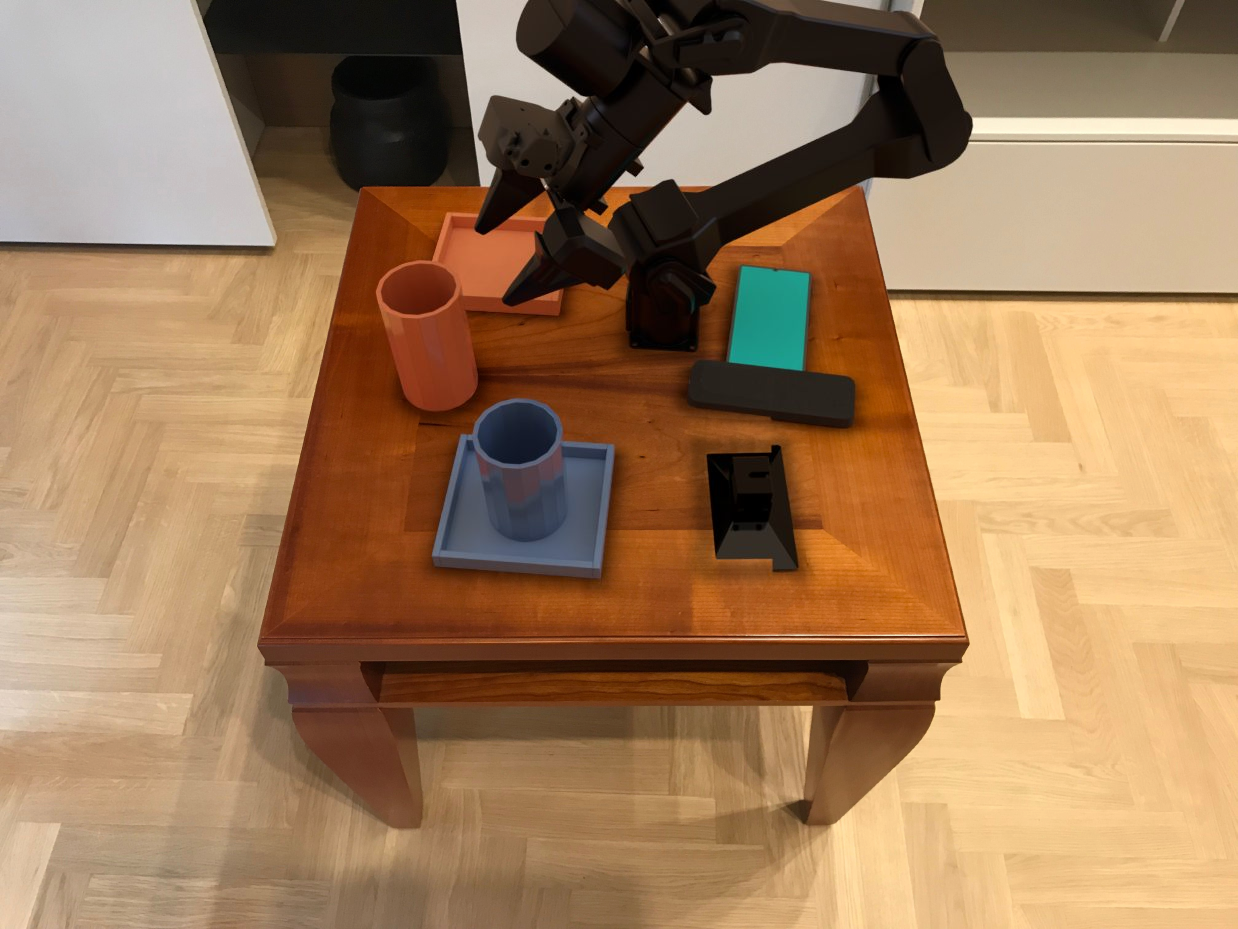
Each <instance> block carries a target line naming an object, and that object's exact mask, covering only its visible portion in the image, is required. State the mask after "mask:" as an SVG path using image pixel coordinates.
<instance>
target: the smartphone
mask: <svg viewBox="0 0 1238 929" xmlns="http://www.w3.org/2000/svg"><path fill="white" fill-rule="evenodd" d="M812 280H813V274H812V272H810V271H806V270H797V269H789V268H780V267H769V266H762V265H761V266H760V265H753V264H739V266H738V271H737V278H736V285H735V292H734V293H735V294H734V301H733V308H732V315H731V323H730V330H729V337H728V345H727V352H726V360H725V362H732V363H740V364H749V365H757V366H766V367H774V368H783V369H792V370H800V371H806V367H807V354H808V353H807V352H808V338H809V327H810V321H811V318H810V314H811V306H812V290H813V289H812Z"/></svg>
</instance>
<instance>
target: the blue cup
mask: <svg viewBox="0 0 1238 929" xmlns="http://www.w3.org/2000/svg"><path fill="white" fill-rule="evenodd" d="M471 435H472V440H473V444H474V449H475V454H476V459H477V464H478V468H479V473H480V478H481V483H482V488H483V493H484V497H485V502H486V507H487V511H488V515H489V519H490V521H491V523H492V525H493V527H494V528H495V529H496V530H497V531H498V532H499V533H500V534H502V535H503V536H505V537H507V538H509V539H512V540H516V541H522V542H529V541H536V540H540V539H543V538H545V537H548V536H549V535H551V534H553V533H554V532H555V531H556V530H557V529H558V528H559V527H560V526H561V525H562V524H563V522H564V520H565V519H566V516H567V513H568V501H569V499H568V487H567V475H566V463H565V451H564V441H565V439H564V428H563V426H562V423H561V420H560V417H559V415H558V414H557V413H556V412H555V411H554V410H553V409H552V408H551V407H550V406H549V405H548V404H546V403H542V402H540V401H537V400H535V399H532V398H519V397H518V398H516V397H515V398H510V399H507V400H502V401H498V402H496V403H495V404H493V405H492V406H490V407H489V408H486V409H485V410H484V411H483V412H482V413H481V414H480V416H479V417H478V418H477V420H476V421H475V422H474V426H473V430H472V434H471Z"/></svg>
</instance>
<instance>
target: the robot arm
mask: <svg viewBox="0 0 1238 929" xmlns="http://www.w3.org/2000/svg"><path fill="white" fill-rule="evenodd" d="M941 42H942V41H941V40H940V38H939V37H938V35H937V34H936V33H935V32H933V30H931V29H930V28H929V27H928V26H927V25H926V24H925V23H924V22H923V21H922V20H921V19H920V18H919V17H917V16H916V15H915V14H914V13H913V12H910V11H908V10H907V11H905V10H902V9H900V10H893V11H888V10H881V9H876V8H872V7H871V8H869V7H864V6H858V5H852V4H847V3H840V2H835V1H828V0H527V1H526V3H525V4H524V6H523V9H522V11H521V13H520V16H519V19H518V21H517V25H516V29H515V44H516V47H517V50H518V51H519V52H520V53H521V54H522V55H524V56H525V57H527V58H528V59H530V60H531V61H532V62H533V63H535V64H536V65H538V66H539V67H540V68H542V69H543V70H544V71H546V72H547V73H549V74H550V75H552V76H553V77H554V78H555V79H557V80H558V81H559V82H561V83H562V84H563V85H565V86H567V87H568V88H569V89H571V90H572V91H573V92H575V93H576V94H577V95H579V96H581V97H584V98H585V99H584V100H583V101H581V100H580V99H579V98H577V97H576V96H575V95H572V96H571V98H570V99H569V98H567V99H565V100H564V101H563V102H562V103H561V104H560V105H559V107H558V108H557V109H555V110H553V109H550V108H546V107H544V106H542V105H540V104H537V103H534V102H529V101H525V100H520V99H516V98H511V97H507V96H502V95H498V94H494V95H491V96H490V97H489V99H488V102H487V106H486V108H485V111H484V114H483V118H482V120H481V124H480V126H479V129H478V132H477V139H478V140H479V142H481V144H482V146H483V148H484V150H485V157H486V160H487V162H488V163H490V165H492V166H493V167H495V170H494V172H493V177H492V179H491V183H490V184H489V187H488V190H487V192H486V195H485V197H484V201H483V202H482V206H481V208H480V210H479V212H478V214H479V215H478V218H477V220H476V223H475V225H474V229H475V231H476V232H477V233H479V234H481V235H486V234H487V233H489V232H490V231H492V230H493V229H495V228H497V227H498V226H499V225H501V224H502V223H503V222H505V221H506V220H507V219H509V218H510V217H511V216H515V214H517V213H518V212H519V211H521V210H522V209H523V208H524V207H526V206H527V205H529V204H530V203H531V202H532V201H534V200H535V199H537V198H538V197H539V196H540V195H542V194H543V193H544V192H546V194H547V196H548V199H549V201H550V203H551V206H552V207H553V209H554V210H553V212H552V213H551V214H550V215H549V216H548V217H547V218H548V219H547V220H546V221H545V225H544V229H543V232H542V234H541V233H539V232H537V231H535V232H534V238H535V253H534V255H533V256H532V257H531V259H530V260H529V261H528V262H527V264H526V265H525V266H524V268H523V269H522V270H521V272H520V273H519V274H518V276H517V277H516V278H515V279H514V281H513V282H512V283H511V285H510V286H509V288H508V289H507V291H506V292H505V294H504V296H503V297H502V302H503V304H505V305H508V306H510V307H514V306H516V305H519V304H522V303H524V302H527V301H530V300H533V299H535V298H538V297H541V296H544V295H546V294H549V293H552V292H555V291H558V290H561V289H564V290H565V289H567V288H572V287H575V286H576V287H577V286H579V285H583V284H587V285H589V286H591V287H593V288H596V287H600V288H602V289H603V290H605V291H607V292H608V291H610V290H611V289H612V287H614V286H615V284H616V283H618V281H620V279H621V278H623V277H624V276H625V278H626V279H627V281H628V282H627V285H626V291H625V292H626V294H625V303H624V304H625V305H624V306H625V317H624V318H625V319H624V320H625V322H624V323H625V325H624V326H625V331H626V332H628V333H629V339H628V346H629V348H631V349H633V350H647V351H648V350H650V351H662V352H663V351H664V352H681V353H696V352H698V350H699V338H700V320H701V319H700V318H701V307H703V306H708V305H709V304H710V302H711V300H712V298H713V296H714V294H715V292H716V290H717V284H716V283H715V281H714V280H713V278H712V276H711V275H710V273H709V271H708V270H707V268H708V267H709V266H710V265H711V263H712V261H713V260H714V259H715V257H716V256H717V254H718V253H719V252H720V250H721V249H722V248H723V247H724V246H726V245H728V244H730V243H732V242H735V241H737V240H738V239H741V238H744V237H745V236H747V235H749V234H752V233H754V232H756V231H758V230H760V229H763V228H765V227H767V226H770V225H771V224H774V223H776V222H777V221H778V222H779V221H780V220H783V219H784V218H786V217H789V216H791V215H793V214H795V213H797V212H800V211H802V210H804V209H807V208H808V207H810V206H812V205H815V204H817V203H820V202H821V201H824V200H826V199H828V198H830V197H832V196H834V195H836V194H839V193H841V192H843V191H845V190H847V189H850V188H852V187H854V186H857V185H858V184H861V183H862V182H865V181H867V180H871V179H892V180H893V179H894V180H895V179H896V180H911V179H914V178H917V177H921V176H924V175H927V174H930V173H933V172H937V171H940V170H942V169H944V168H946V167H948V166H950V165H951V164H954V162H956V161H958V159H960V157H961V156H962V155H963V154H964V152H965V151H966V150H967V148H968V145H969V142H970V138H971V136H972V133H973V129H974V120H973V117H972V116H971V114H970V113H969V112H968V110H967V109H966V108H965V107H964V104H963V101H962V98H961V97H960V94H959V92H958V89H957V87H956V84H955V83H954V80H953V78H952V75H951V74H950V71H949V69H948V67H947V63H946V57H945V53H944V48H943V47H942V44H941ZM771 64H772V65H773V64H790V65H797V66H804V67H805V66H806V67H813V68H819V69H827V70H836V71H844V72H851V73H859V74H865V75H873V79H874V82H875V86H876V89H877V91H876V92H874V93H873V94H871V95H870V96H868V98H867V99H866V101H865V102H864V104H863V105H862V106H861V108H860V109H859V111H858V112H857V114H856V115H855V116H854V118H853V119H852V120H851V122H849V123H847V124H845V125H844V126H841V127H840V128H837V129H835V130H833V131H830V132H829V133H827V134H824V135H821V136H820V137H818V138H816V139H814V140H811V141H809V142H807V143H804V144H803V145H802V144H801V145H800V146H798V147H796V148H794V149H792V150H790V151H787V152H785V153H783V154H780V155H778V156H776V157H774V158H771V159H770V160H768V161H765V162H764V163H761V164H759V165H756V166H755V167H752V168H750V169H748V170H746V171H743V172H741V173H739V174H737V175H735V176H733V177H730V178H729V179H727V180H724V181H722V182H720V183H717V184H715V185H713V186H711V187H709V188H707V189H704V190H702V191H682V189H681V188H680V187H679V184H677V182H676V180H675V179H674V178H669V179H665V180H661V181H660V182H658V183H657V184H655V185H654V186H652V187H650V188H648V189H646V190H644V191H641V192H636V193H629V195H628V198H629V201H627V202H625V203H623V204H621V205H620V206H618V207H617V208H616V209H615V210H614V211H613V212H612V217H611V218H610V220H609V222H608V223H607V226H604V224H603V225H602V223H599V222H598V221H596V220H595V219H593V218H591V217H589V216H588V215H587V214H586V212H587V211H588V210H589V211H591V212H593V213H595V214H596V215H598V216H600V217H601V216H602V215H603V214H604V213H605V212H606V211H607V209H609V207H610V206H609V204H608V202H607V199H605V195H606V194H607V192H609V190H611V188H612V187H613V186H614V185H615V184H616V183H617V182H618V180H620V178H621V177H622V176H623V175H624V174H625V173H626V172H627V174H628V173H629V175H631V176H632V177H634V178H637V177H638V175H639V174H641V172H642V171H644V169H645V166H644V165H643V162H642V161H641V159H640V158H639V157H640V156H641V155H642V154H643V153H644V151H645V150H646V149H647V148H648V147H649V146H650V145H651V143H653V141H654V140H655V139H656V138H657V137H658V136H659V135H660V134H661V132H662V131H663V130H664V129H665V128H666V127H667V126H668V125H669V123H671V121H672V120H673V119H674V118H675V117H676V116H677V115H678V114H679V113H680V111H681V110H682V109H683V108H685V106H686V105H687V104H690V105H691V106H692V107H693V108H695V109H696V110H697V111H698V112H700V113H701V114H702V115H703V116H709V115H710V114H711V113H712V111H713V106H712V104H713V102H712V85H713V82H714V78H713V77H723V76H724V77H725V76H736V75H751V74H753V73H756V72H757V71H759V70H761V69H763V68H765V67H767V66H768V65H771ZM633 344H635V345H633ZM692 347H693V348H692Z"/></svg>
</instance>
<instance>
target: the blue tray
mask: <svg viewBox="0 0 1238 929" xmlns="http://www.w3.org/2000/svg"><path fill="white" fill-rule="evenodd" d="M615 445H616V444H614V443H602V442H601V443H598V442H585V441H570V440H569V441H568V440H564V451H565V463H566V475H567V487H568V499H569V501H568V513H567V516H566V519H565V520H564V522H563V524H562V525H561V526H560V527H559V528H558V529H557V530H556V531H555V532H554V533H553V534H551V535H549V536H548V537H545V538H543V539H540V540H536V541H529V542H522V541H516V540H512V539H509V538H507V537H505V536H503V535H502V534H500V533H499V532H498V531H497V530H496V529H495V528H494V527H493V525H492V523H491V521H490V519H489V515H488V511H487V507H486V502H485V497H484V493H483V488H482V483H481V478H480V473H479V468H478V464H477V459H476V454H475V449H474V444H473V440H472V434H467V433H460V436H459V440H458V445H457V449H456V452H455V457H454V461H453V465H452V470H451V473H450V478H449V482H448V486H447V491H446V494H445V498H444V503H443V508H442V510H441V515H440V519H439V524H438V529H437V532H436V536H435V540H434V544H433V548H432V553H431V559H432V562H433V565H434V567H442V568H453V569H469V570H482V571H494V572H505V573H506V572H507V573H519V574H520V573H521V574H532V575H547V576H559V577H574V578H584V579H585V578H587V579H599V580H600V579H601V578H602V577H601V576H602V569H603V562H604V553H605V552H604V551H605V544H606V534H607V526H608V525H607V524H608V516H609V508H610V500H611V491H612V482H613V473H614V463H615V456H616V452H615V450H616V448H615Z"/></svg>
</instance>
